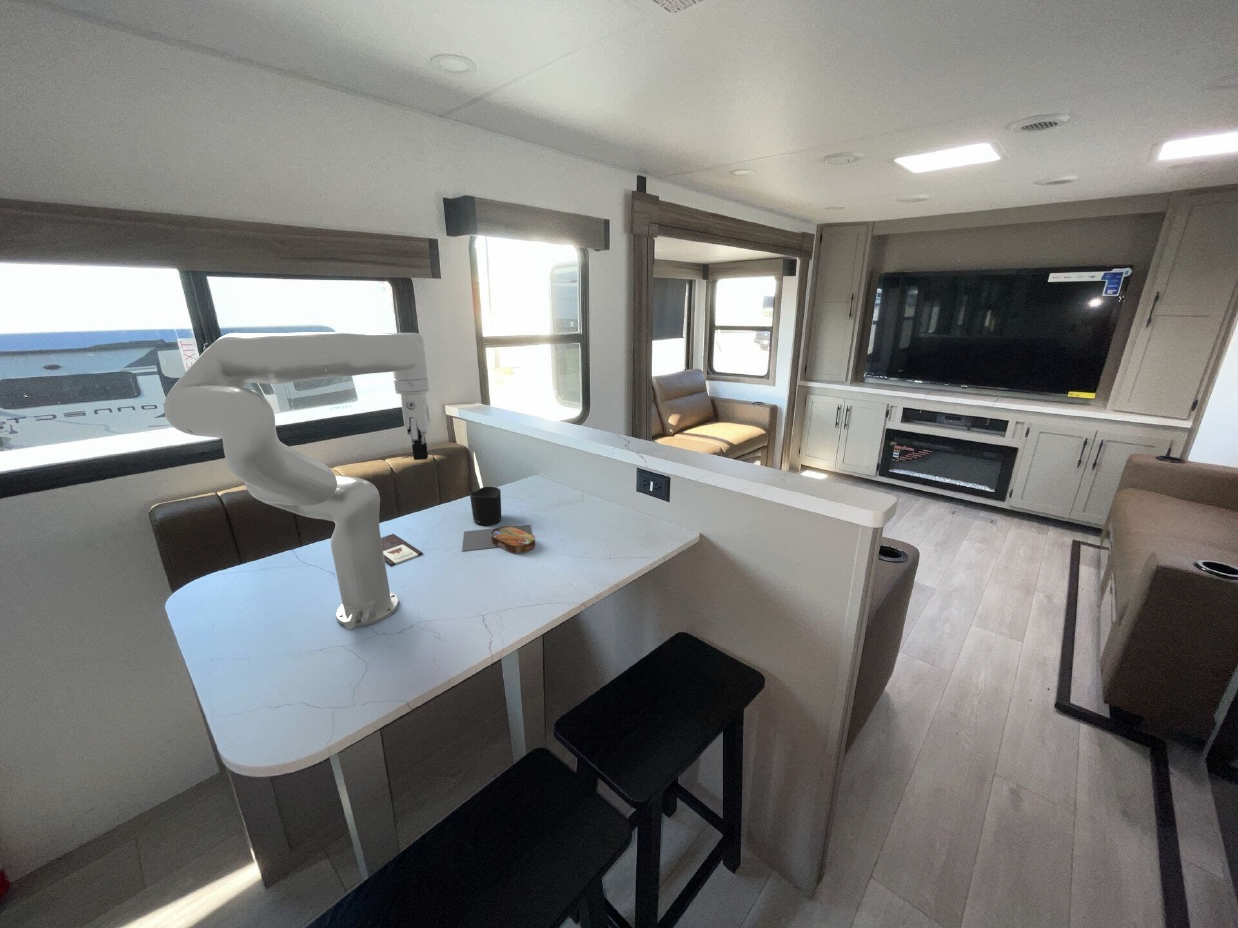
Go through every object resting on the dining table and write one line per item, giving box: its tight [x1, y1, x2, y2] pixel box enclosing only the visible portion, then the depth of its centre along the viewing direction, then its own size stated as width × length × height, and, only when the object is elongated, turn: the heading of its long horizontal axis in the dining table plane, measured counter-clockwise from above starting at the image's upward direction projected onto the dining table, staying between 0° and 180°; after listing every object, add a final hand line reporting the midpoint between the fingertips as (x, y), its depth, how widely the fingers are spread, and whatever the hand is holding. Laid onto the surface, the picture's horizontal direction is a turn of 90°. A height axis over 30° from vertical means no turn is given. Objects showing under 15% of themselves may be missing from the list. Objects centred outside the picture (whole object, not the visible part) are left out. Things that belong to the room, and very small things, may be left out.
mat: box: [461, 524, 533, 552], centre depth 144 cm, size 13×20×1 cm, turn 105°
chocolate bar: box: [381, 533, 424, 567], centre depth 136 cm, size 9×1×18 cm
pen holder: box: [469, 486, 502, 527], centre depth 154 cm, size 9×9×10 cm
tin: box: [490, 525, 536, 554], centre depth 139 cm, size 15×3×8 cm
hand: (421, 458), depth 121 cm, fingers closed
